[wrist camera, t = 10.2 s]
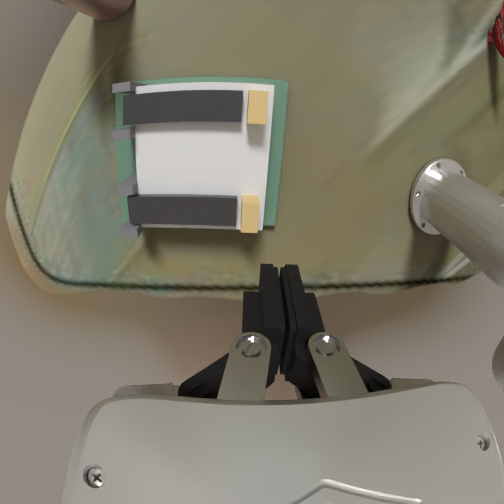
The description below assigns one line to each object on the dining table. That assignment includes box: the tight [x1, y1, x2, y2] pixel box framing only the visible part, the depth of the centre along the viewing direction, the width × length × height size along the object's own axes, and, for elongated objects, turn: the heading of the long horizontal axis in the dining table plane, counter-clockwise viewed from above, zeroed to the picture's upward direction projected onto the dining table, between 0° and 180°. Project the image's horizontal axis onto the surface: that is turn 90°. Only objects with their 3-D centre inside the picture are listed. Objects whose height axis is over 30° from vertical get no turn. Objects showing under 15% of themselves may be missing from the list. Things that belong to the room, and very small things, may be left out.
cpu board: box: [112, 77, 289, 237], centre depth 27 cm, size 20×18×7 cm
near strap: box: [123, 90, 243, 126], centre depth 23 cm, size 12×3×1 cm, turn 86°
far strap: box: [127, 194, 237, 227], centre depth 28 cm, size 12×3×1 cm, turn 86°
